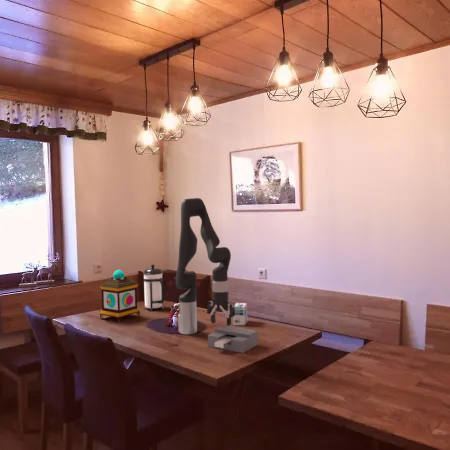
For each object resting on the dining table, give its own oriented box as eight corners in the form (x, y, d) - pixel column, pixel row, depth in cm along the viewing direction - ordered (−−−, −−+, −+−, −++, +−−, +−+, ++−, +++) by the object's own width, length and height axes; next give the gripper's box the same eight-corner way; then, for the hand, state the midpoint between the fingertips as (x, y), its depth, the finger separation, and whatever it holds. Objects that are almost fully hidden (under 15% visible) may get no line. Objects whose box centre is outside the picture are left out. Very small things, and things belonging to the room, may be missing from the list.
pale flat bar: (214, 346, 207) (214, 342, 207) (230, 338, 219) (230, 334, 219) (223, 348, 204) (223, 343, 204) (239, 340, 216) (239, 336, 216)
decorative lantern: (96, 319, 272) (95, 270, 270) (121, 312, 288) (119, 266, 287) (118, 323, 260) (117, 273, 259) (143, 316, 277) (141, 268, 275)
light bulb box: (244, 325, 251) (244, 306, 250) (233, 325, 252) (232, 306, 251) (247, 320, 261) (247, 302, 261) (236, 320, 262) (236, 302, 262)
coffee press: (138, 311, 289) (137, 266, 288) (147, 306, 305) (145, 262, 303) (164, 312, 286) (163, 266, 285) (171, 306, 302) (170, 262, 301)
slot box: (208, 346, 215) (207, 332, 215) (223, 338, 227) (223, 325, 227) (243, 353, 204) (242, 338, 204) (257, 344, 216) (257, 330, 216)
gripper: (203, 290, 207) (204, 324, 208) (228, 292, 199) (229, 328, 200) (212, 287, 213) (213, 320, 214) (237, 289, 205) (238, 324, 206)
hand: (221, 324), depth 207 cm, fingers open, 8 cm apart
